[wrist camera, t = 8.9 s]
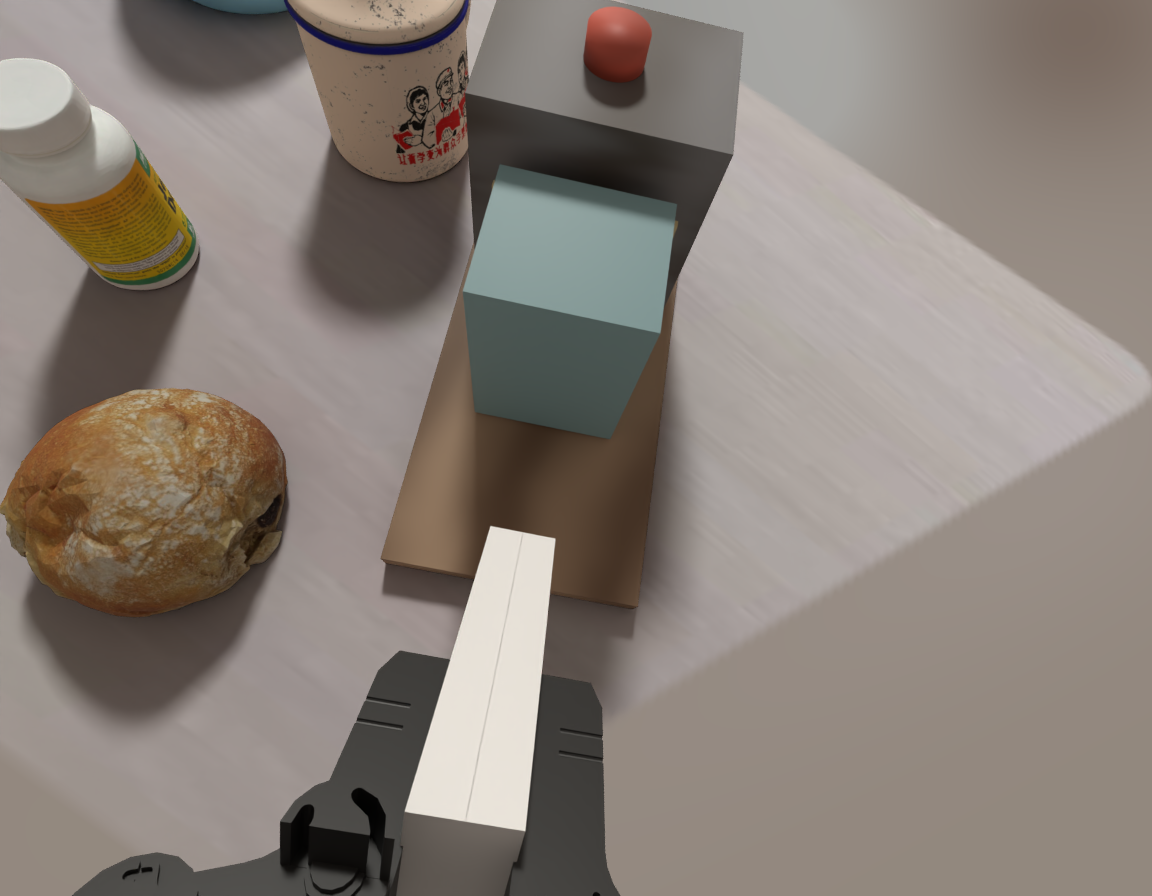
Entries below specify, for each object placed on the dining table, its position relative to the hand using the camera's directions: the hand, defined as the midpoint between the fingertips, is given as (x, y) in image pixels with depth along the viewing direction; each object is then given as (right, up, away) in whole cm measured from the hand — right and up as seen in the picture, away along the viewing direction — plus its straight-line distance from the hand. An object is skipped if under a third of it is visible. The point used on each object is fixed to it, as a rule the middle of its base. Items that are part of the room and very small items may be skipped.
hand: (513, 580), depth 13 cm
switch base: (0, +7, +18) cm, 19 cm away
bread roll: (-17, 0, +14) cm, 22 cm away
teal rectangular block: (0, +7, +17) cm, 18 cm away
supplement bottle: (-22, +14, +18) cm, 32 cm away
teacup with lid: (-9, +24, +24) cm, 35 cm away
